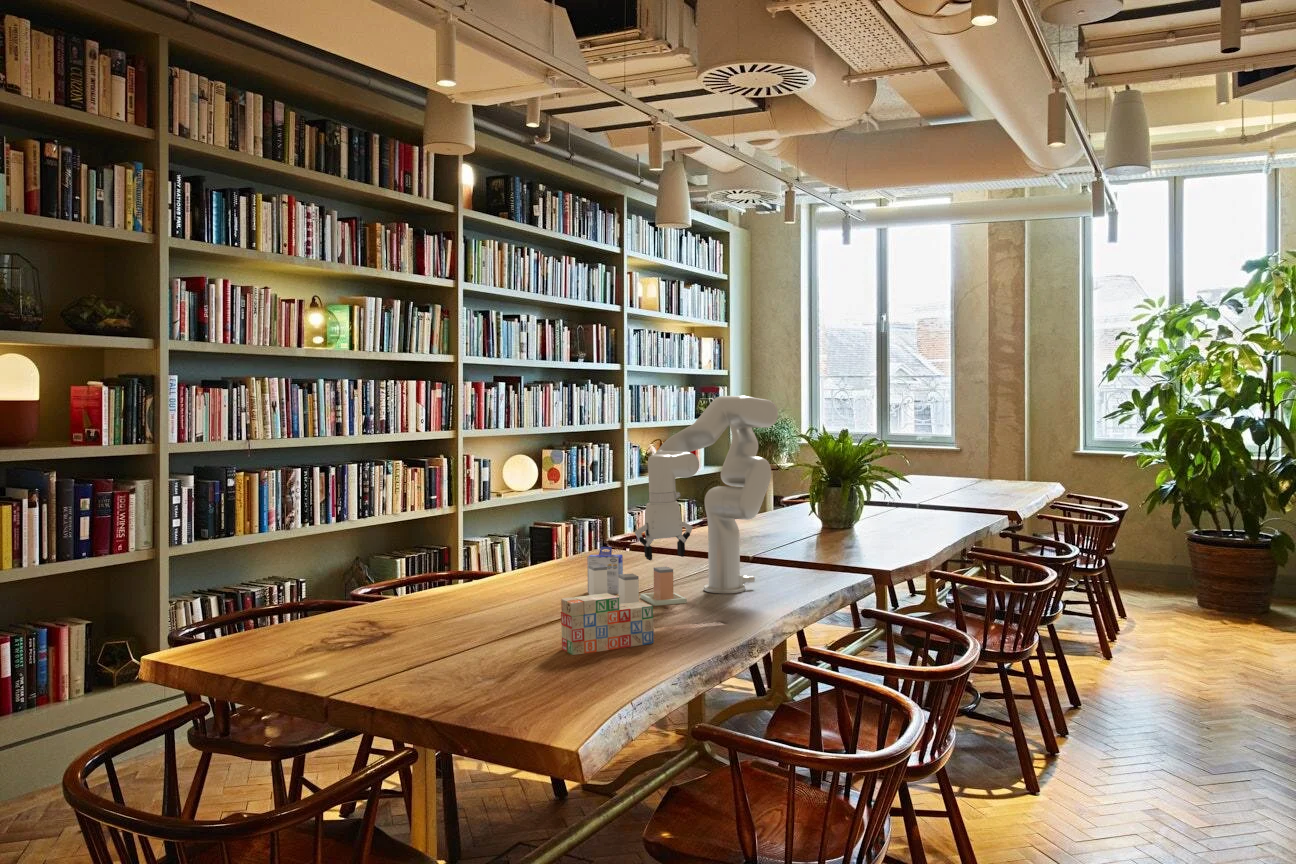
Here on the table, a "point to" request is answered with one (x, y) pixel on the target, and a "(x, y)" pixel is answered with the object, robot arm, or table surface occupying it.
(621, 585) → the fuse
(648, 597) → the tray
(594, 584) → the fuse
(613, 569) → the ink cartridge box
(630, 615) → the stack of blocks
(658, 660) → the table surface
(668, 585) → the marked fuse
